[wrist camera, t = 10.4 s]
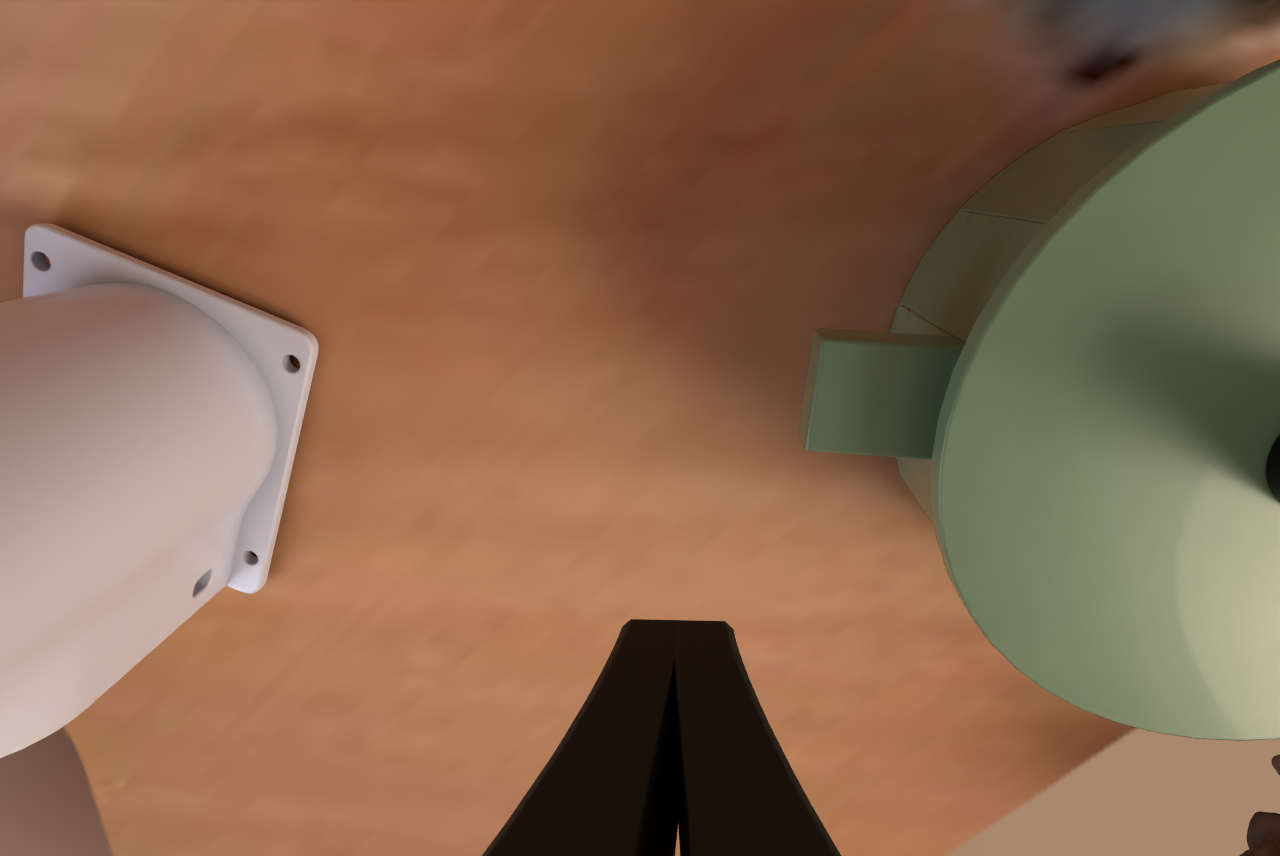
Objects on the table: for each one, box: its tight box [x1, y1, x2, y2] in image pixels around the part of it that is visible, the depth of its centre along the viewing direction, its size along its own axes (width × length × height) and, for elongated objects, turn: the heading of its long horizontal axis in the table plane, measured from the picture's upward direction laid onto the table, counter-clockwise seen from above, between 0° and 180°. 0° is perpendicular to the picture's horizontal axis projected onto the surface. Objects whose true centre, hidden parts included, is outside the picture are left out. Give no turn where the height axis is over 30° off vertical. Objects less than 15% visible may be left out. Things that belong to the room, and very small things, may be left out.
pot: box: [798, 81, 1233, 525], centre depth 14 cm, size 12×18×5 cm
